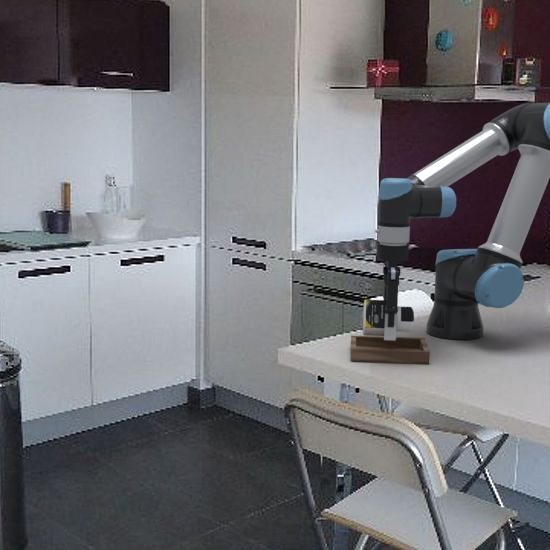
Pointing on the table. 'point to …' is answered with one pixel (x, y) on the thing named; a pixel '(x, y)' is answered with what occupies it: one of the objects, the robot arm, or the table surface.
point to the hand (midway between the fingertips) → (388, 334)
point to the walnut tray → (389, 350)
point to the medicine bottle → (376, 318)
